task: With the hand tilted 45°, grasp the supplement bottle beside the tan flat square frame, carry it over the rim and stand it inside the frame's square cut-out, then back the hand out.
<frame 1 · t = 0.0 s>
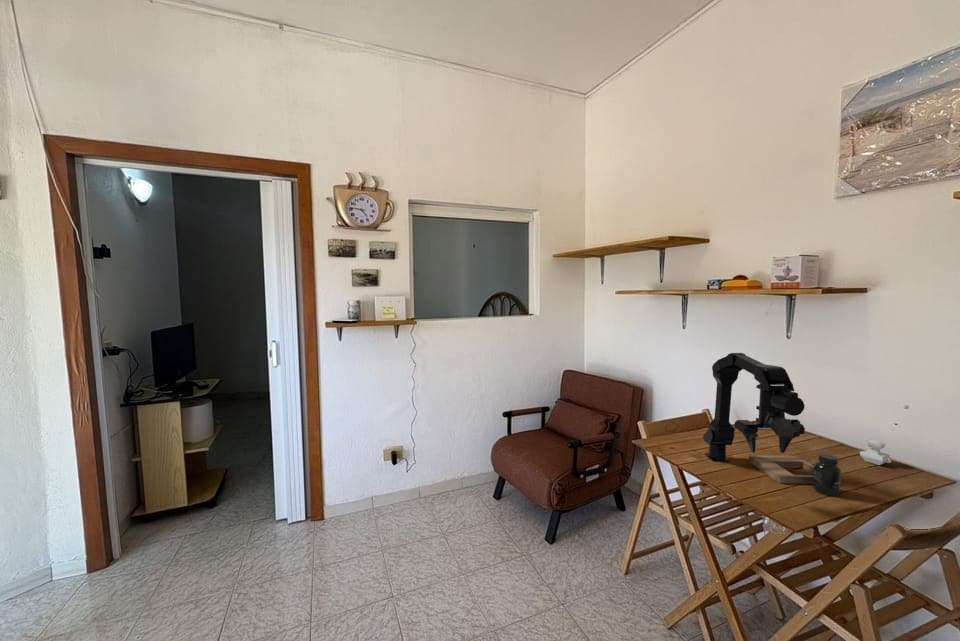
hand: (767, 452, 128), 15 cm above the table, tool pointing down, fingers open, 9 cm apart
tan flat square frame: (788, 472, 145), on the table
supplement bottle: (825, 491, 132), on the table
stamp: (874, 463, 152), on the table
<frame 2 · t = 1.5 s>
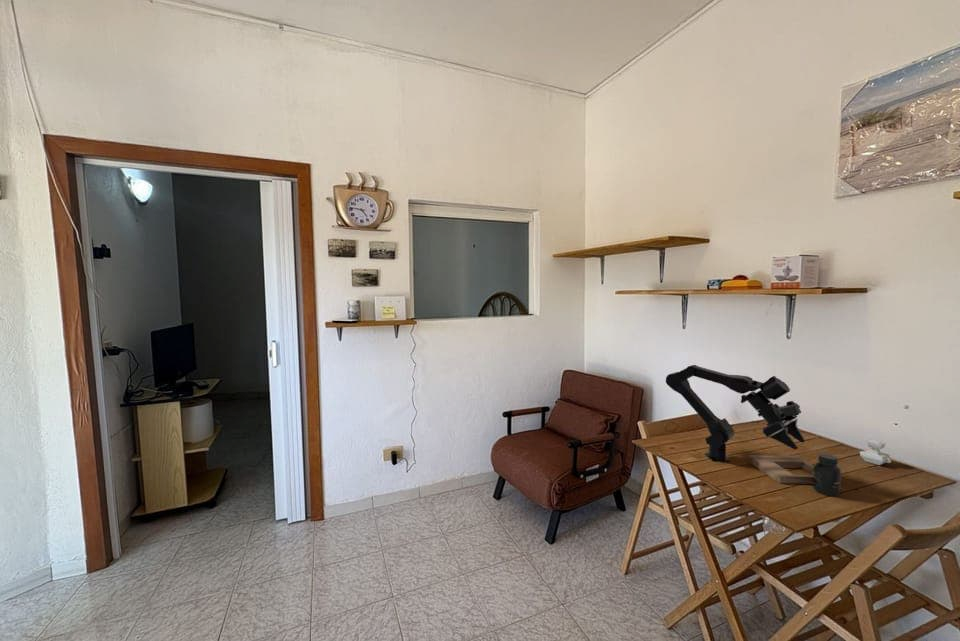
hand: (800, 445, 136), 13 cm above the table, tool tilted 45°, fingers open, 9 cm apart
nothing on the table moved.
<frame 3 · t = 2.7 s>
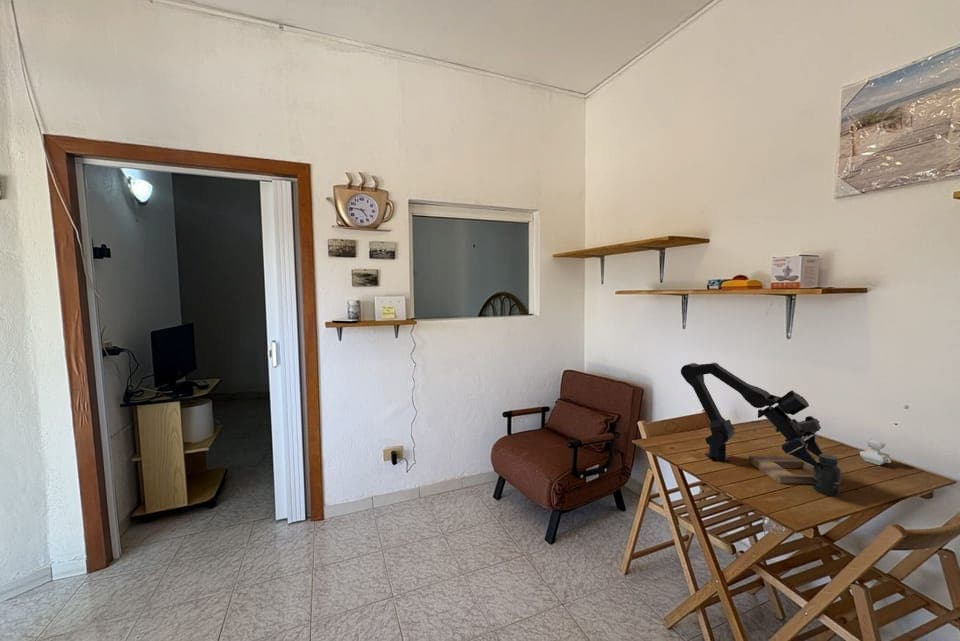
hand: (820, 462, 132), 9 cm above the table, tool tilted 45°, fingers open, 9 cm apart
nothing on the table moved.
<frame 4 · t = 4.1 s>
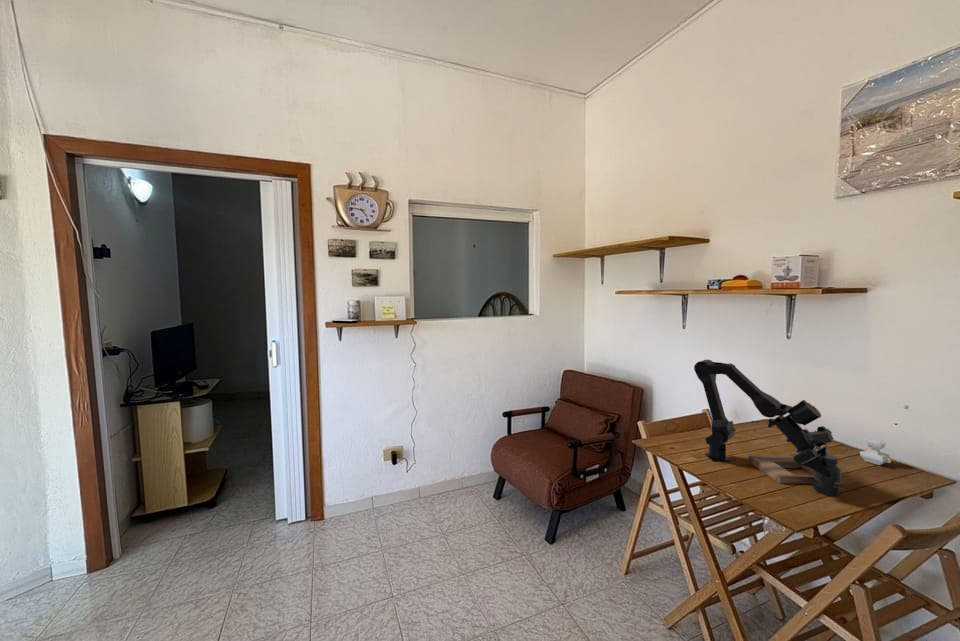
hand: (832, 473, 130), 7 cm above the table, tool tilted 45°, fingers closed on supplement bottle, 7 cm apart
supplement bottle: (825, 491, 132), on the table, touching gripper
everything else where it was.
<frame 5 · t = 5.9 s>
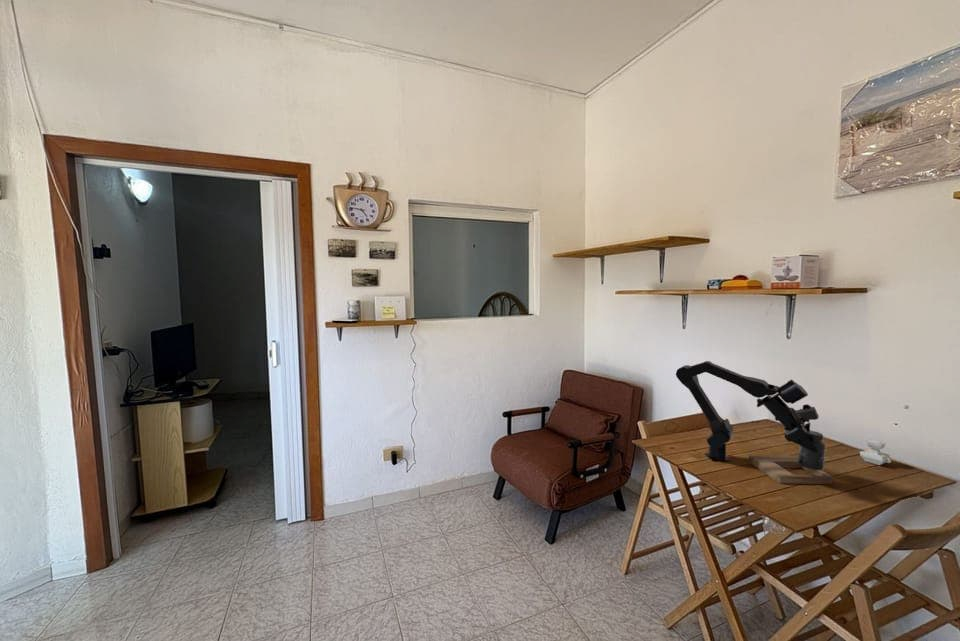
hand: (817, 448, 136), 12 cm above the table, tool tilted 45°, fingers closed on supplement bottle, 7 cm apart
supplement bottle: (810, 466, 138), point 5 cm above the table, touching gripper
everything else where it was.
when the fingers open (8 cm above the table, at t = 7.9 s): supplement bottle drops 1 cm, resting in tan flat square frame.
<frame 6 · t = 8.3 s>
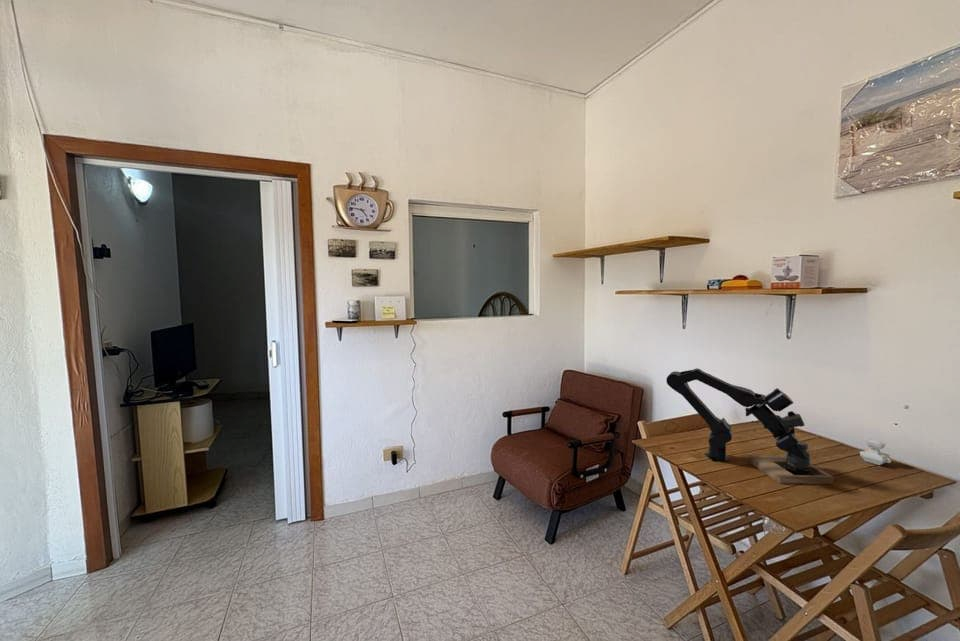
hand: (804, 454, 142), 8 cm above the table, tool tilted 45°, fingers open, 9 cm apart
supplement bottle: (797, 475, 143), resting in tan flat square frame
everything else where it was.
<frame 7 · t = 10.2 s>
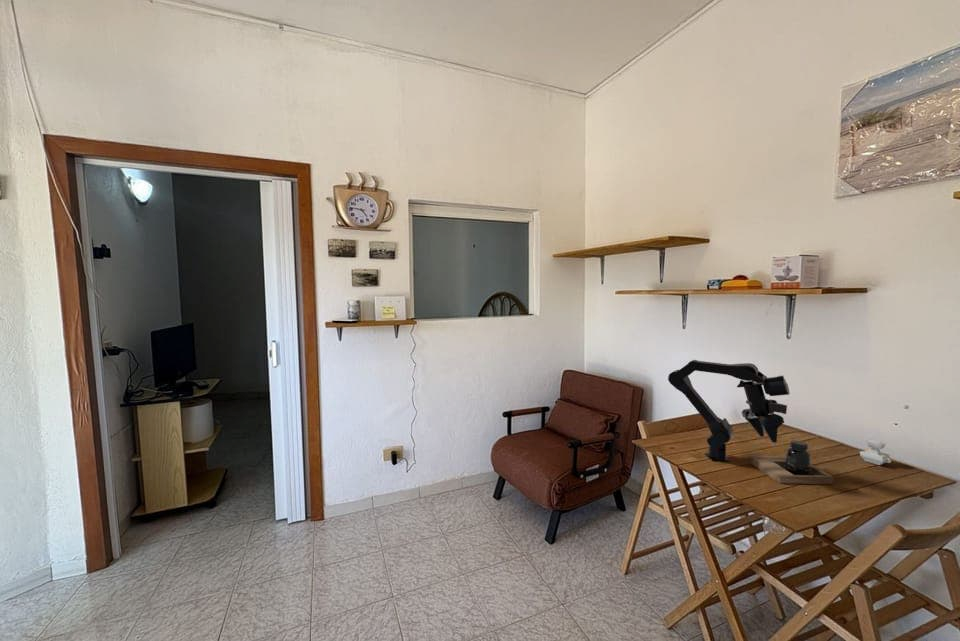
hand: (768, 439, 146), 12 cm above the table, tool tilted 15°, fingers open, 9 cm apart
nothing on the table moved.
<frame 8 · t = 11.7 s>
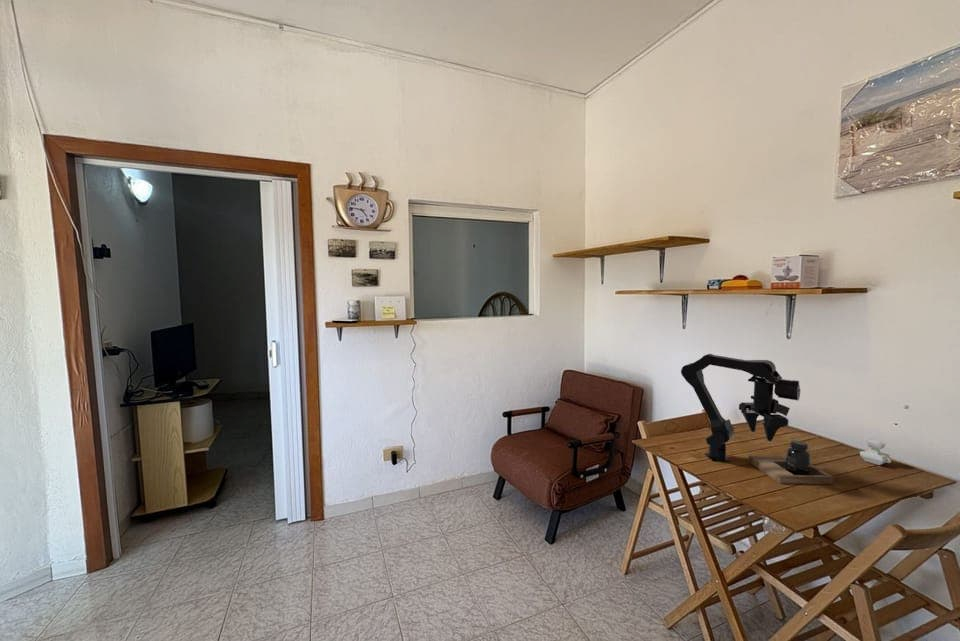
hand: (760, 436, 146), 13 cm above the table, tool pointing down, fingers open, 9 cm apart
nothing on the table moved.
at the end: supplement bottle 0.2 cm from the target spot on the tan flat square frame, point 0.0 cm above the tan flat square frame's base; supplement bottle tilted 0°; the gripper is holding nothing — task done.
